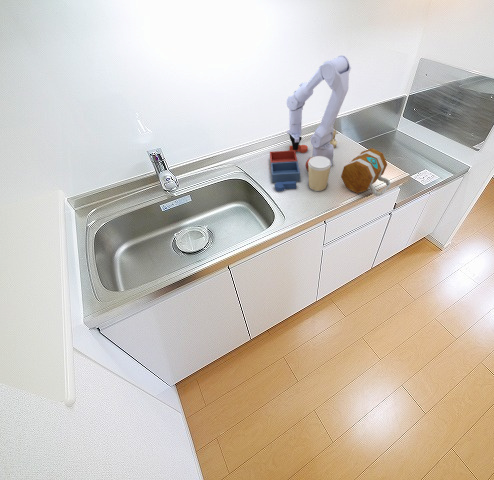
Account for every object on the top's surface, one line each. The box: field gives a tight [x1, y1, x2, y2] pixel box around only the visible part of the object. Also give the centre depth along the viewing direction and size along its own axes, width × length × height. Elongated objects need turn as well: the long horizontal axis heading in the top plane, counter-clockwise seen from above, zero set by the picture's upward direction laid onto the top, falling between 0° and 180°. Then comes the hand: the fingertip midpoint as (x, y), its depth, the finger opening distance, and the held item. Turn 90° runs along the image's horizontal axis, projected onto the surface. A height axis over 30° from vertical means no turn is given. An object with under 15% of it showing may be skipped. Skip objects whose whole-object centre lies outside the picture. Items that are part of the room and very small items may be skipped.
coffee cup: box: [308, 156, 332, 192], centre depth 116 cm, size 9×9×12 cm
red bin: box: [269, 150, 298, 164], centre depth 130 cm, size 9×12×4 cm
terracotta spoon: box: [288, 144, 309, 154], centre depth 138 cm, size 9×4×3 cm, turn 96°
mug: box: [340, 147, 392, 197], centre depth 116 cm, size 20×14×15 cm
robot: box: [330, 129, 339, 149], centre depth 138 cm, size 10×8×15 cm
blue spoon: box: [274, 181, 297, 193], centre depth 118 cm, size 9×4×3 cm, turn 95°
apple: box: [305, 156, 312, 173], centre depth 124 cm, size 8×8×8 cm
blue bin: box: [270, 160, 301, 184], centre depth 123 cm, size 9×12×4 cm
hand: (295, 148), depth 138 cm, fingers closed on terracotta spoon
